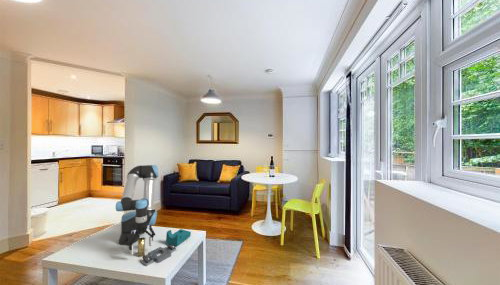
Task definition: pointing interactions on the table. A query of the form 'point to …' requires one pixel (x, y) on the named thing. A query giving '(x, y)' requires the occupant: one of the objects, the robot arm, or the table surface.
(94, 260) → the table surface
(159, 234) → the table surface
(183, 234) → the teal notched block
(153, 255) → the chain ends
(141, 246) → the pin
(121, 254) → the table surface
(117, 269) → the table surface
